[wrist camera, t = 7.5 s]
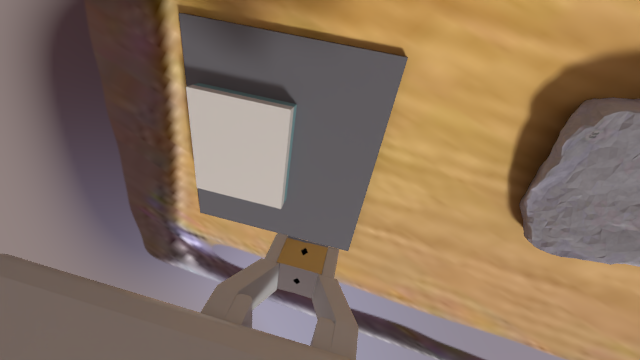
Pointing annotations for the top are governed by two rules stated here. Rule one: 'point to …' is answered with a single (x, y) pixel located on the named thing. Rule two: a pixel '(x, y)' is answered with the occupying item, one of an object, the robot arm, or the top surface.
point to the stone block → (590, 187)
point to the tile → (241, 143)
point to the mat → (302, 119)
